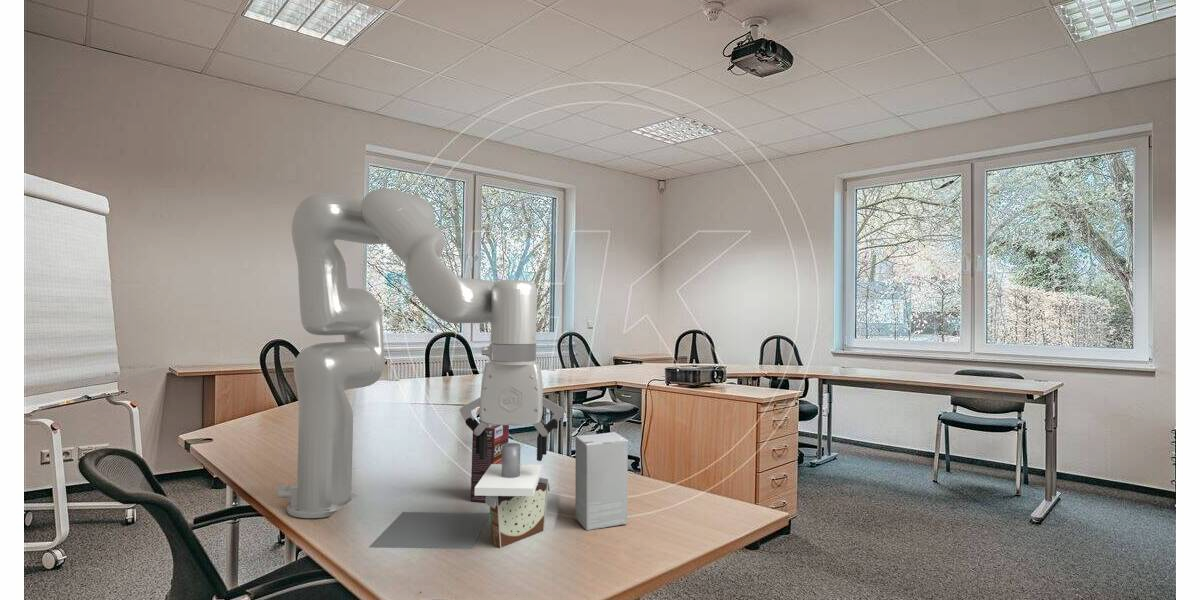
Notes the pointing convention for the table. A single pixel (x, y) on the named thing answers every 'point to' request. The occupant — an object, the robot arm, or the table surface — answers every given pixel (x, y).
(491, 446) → the supplement box
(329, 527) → the table surface
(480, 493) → the lid
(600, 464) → the skincare box
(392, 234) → the robot arm
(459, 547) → the mat
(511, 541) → the food container
